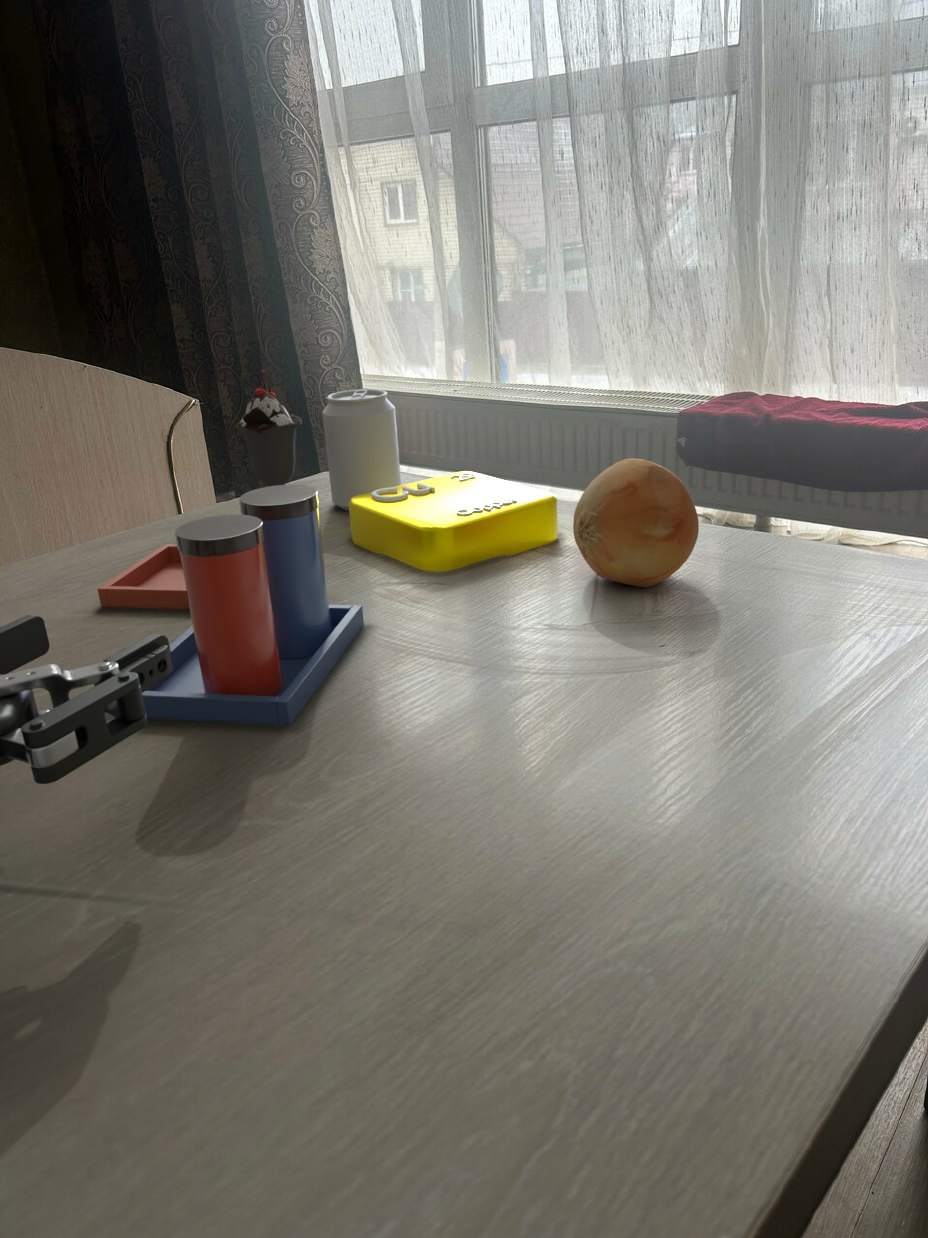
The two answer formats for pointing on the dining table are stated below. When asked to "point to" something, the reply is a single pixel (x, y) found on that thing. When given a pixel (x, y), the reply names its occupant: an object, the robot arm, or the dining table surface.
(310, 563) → the blue jar
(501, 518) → the element tile
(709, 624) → the dining table surface
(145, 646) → the robot arm
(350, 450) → the can
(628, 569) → the onion
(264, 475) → the sundae
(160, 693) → the blue tray
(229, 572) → the red jar
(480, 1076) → the dining table surface
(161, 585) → the red tray
